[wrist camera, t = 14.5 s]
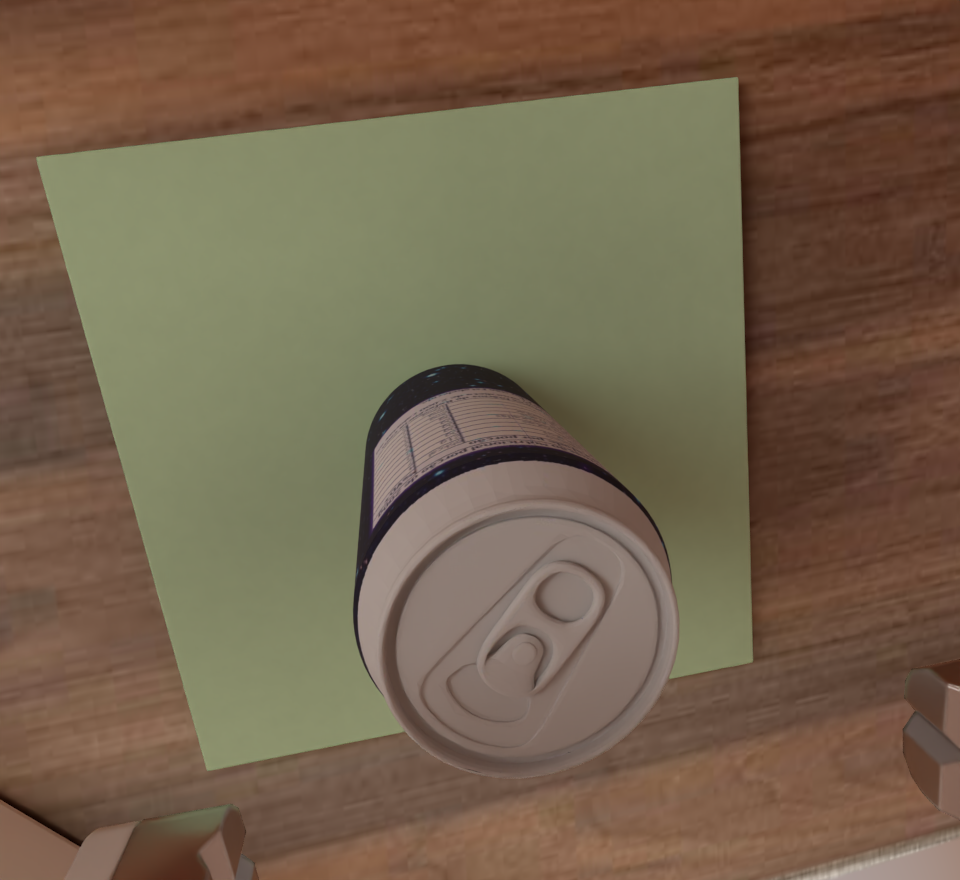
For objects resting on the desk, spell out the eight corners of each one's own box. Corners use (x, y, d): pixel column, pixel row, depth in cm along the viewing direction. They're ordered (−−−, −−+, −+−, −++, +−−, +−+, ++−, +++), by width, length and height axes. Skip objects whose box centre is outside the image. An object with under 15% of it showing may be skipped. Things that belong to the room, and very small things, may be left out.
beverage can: (331, 473, 22) (277, 709, 11) (431, 323, 21) (489, 404, 10) (477, 560, 24) (568, 849, 12) (576, 422, 23) (772, 592, 11)
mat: (731, 80, 21) (739, 76, 21) (747, 655, 27) (754, 662, 26) (43, 158, 19) (34, 156, 19) (210, 762, 25) (207, 772, 24)
